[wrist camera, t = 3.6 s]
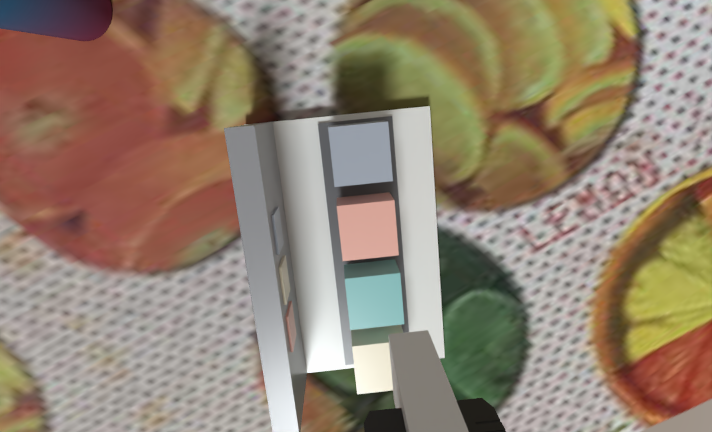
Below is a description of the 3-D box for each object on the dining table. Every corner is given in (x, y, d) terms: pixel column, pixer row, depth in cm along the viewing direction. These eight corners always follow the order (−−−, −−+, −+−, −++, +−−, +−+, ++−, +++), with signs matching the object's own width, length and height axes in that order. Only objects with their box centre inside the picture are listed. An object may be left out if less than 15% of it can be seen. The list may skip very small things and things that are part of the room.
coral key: (342, 248, 40) (342, 261, 37) (336, 197, 39) (336, 206, 35) (393, 242, 40) (398, 255, 37) (389, 192, 39) (394, 200, 36)
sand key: (355, 371, 43) (357, 394, 39) (350, 327, 42) (352, 346, 38) (403, 366, 43) (409, 388, 39) (400, 321, 42) (405, 340, 38)
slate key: (334, 180, 39) (334, 187, 35) (328, 126, 38) (328, 127, 34) (387, 174, 39) (393, 181, 35) (383, 120, 38) (388, 121, 34)
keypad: (282, 370, 46) (267, 440, 36) (245, 124, 40) (216, 129, 30) (442, 352, 46) (470, 417, 36) (427, 106, 40) (456, 104, 31)
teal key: (349, 312, 41) (350, 330, 38) (343, 264, 40) (344, 278, 37) (398, 306, 41) (404, 324, 38) (394, 259, 40) (400, 273, 37)
